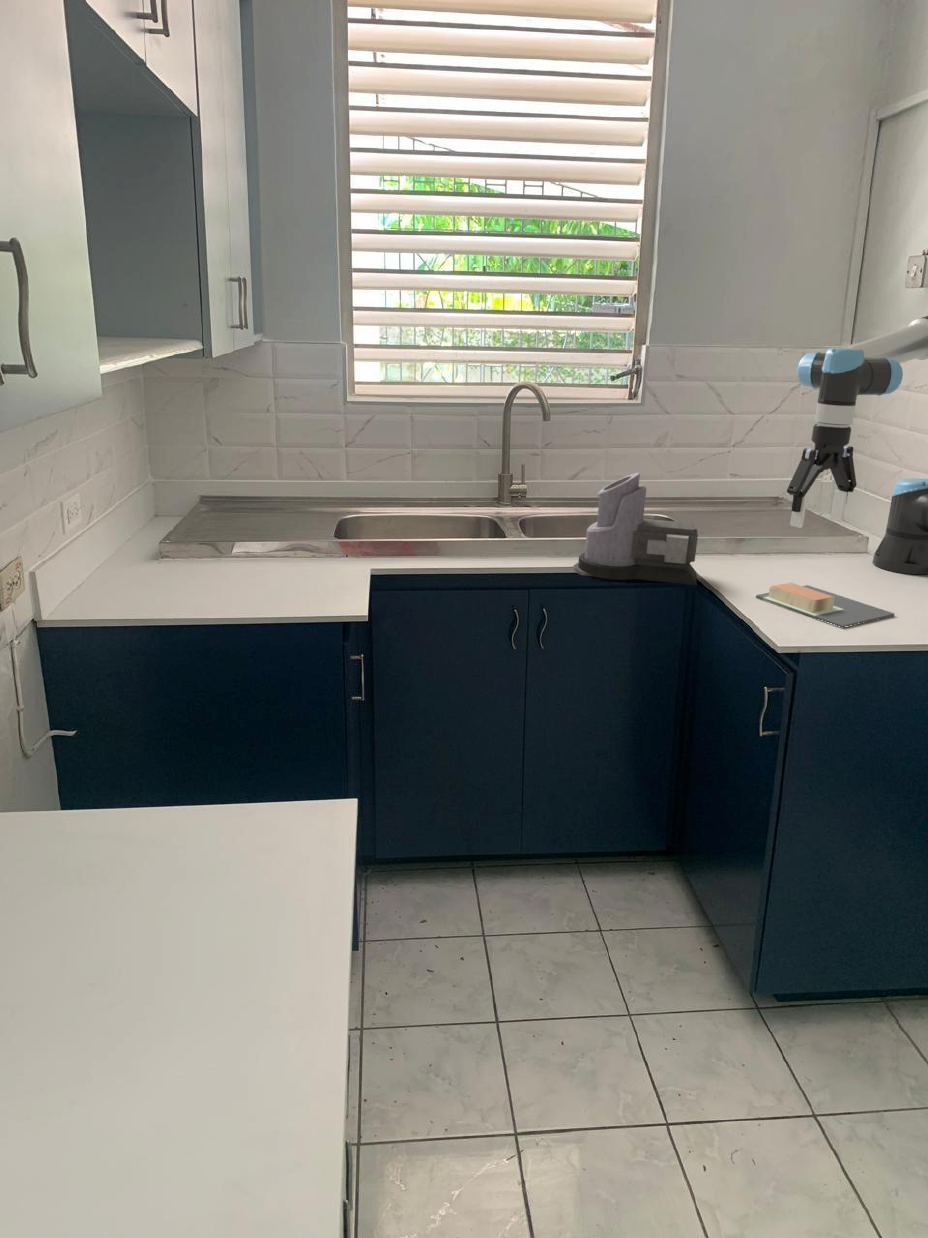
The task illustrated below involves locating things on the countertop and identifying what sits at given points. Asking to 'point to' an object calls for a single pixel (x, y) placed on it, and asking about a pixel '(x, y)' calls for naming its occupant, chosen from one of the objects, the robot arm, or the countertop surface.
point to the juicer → (636, 540)
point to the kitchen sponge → (801, 597)
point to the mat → (837, 610)
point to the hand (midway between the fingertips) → (816, 523)
